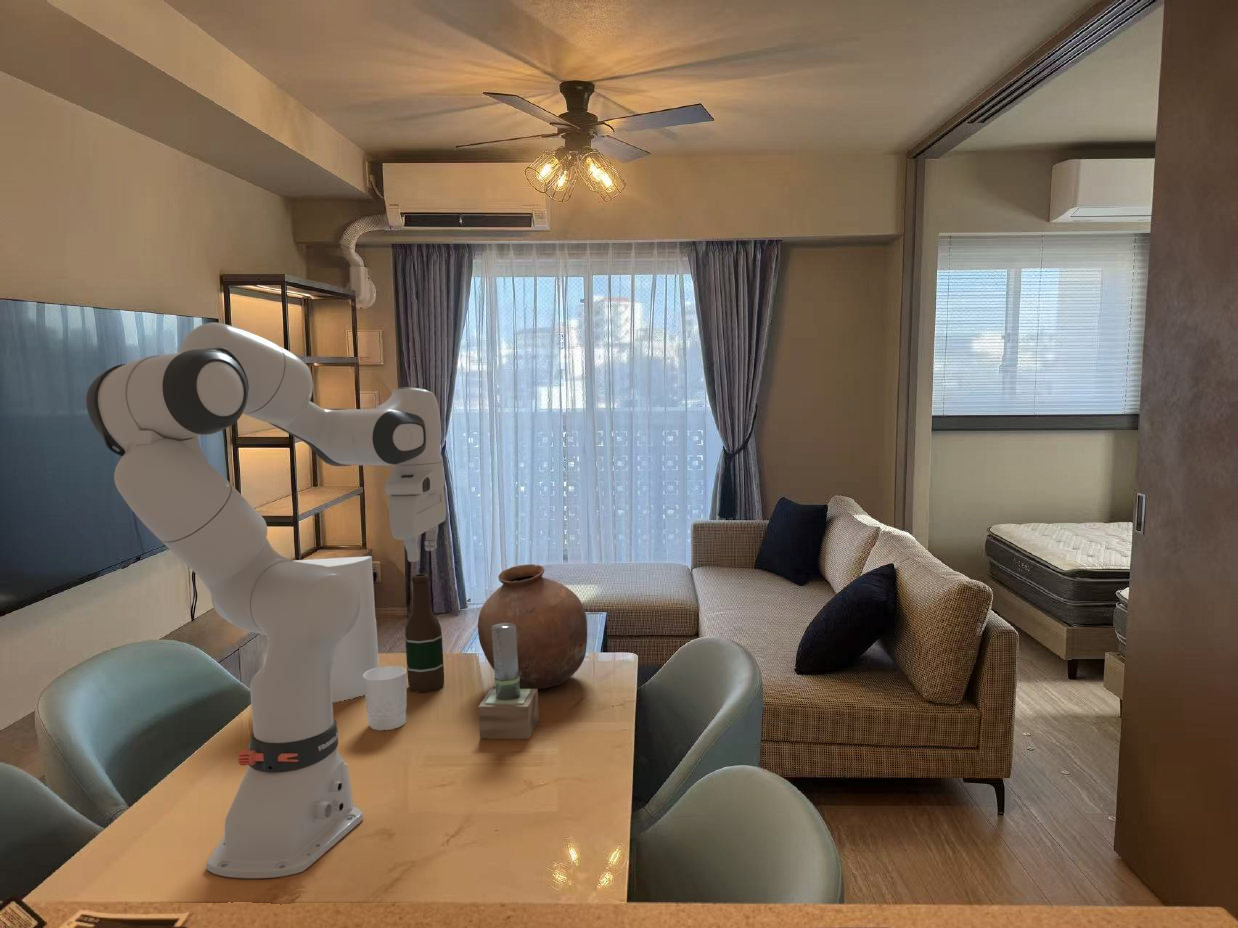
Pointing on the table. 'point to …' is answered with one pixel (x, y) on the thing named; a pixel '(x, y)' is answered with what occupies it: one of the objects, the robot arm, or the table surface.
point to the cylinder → (354, 630)
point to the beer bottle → (423, 641)
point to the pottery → (537, 625)
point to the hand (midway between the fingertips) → (422, 555)
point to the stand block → (509, 715)
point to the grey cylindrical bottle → (505, 661)
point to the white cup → (386, 697)
